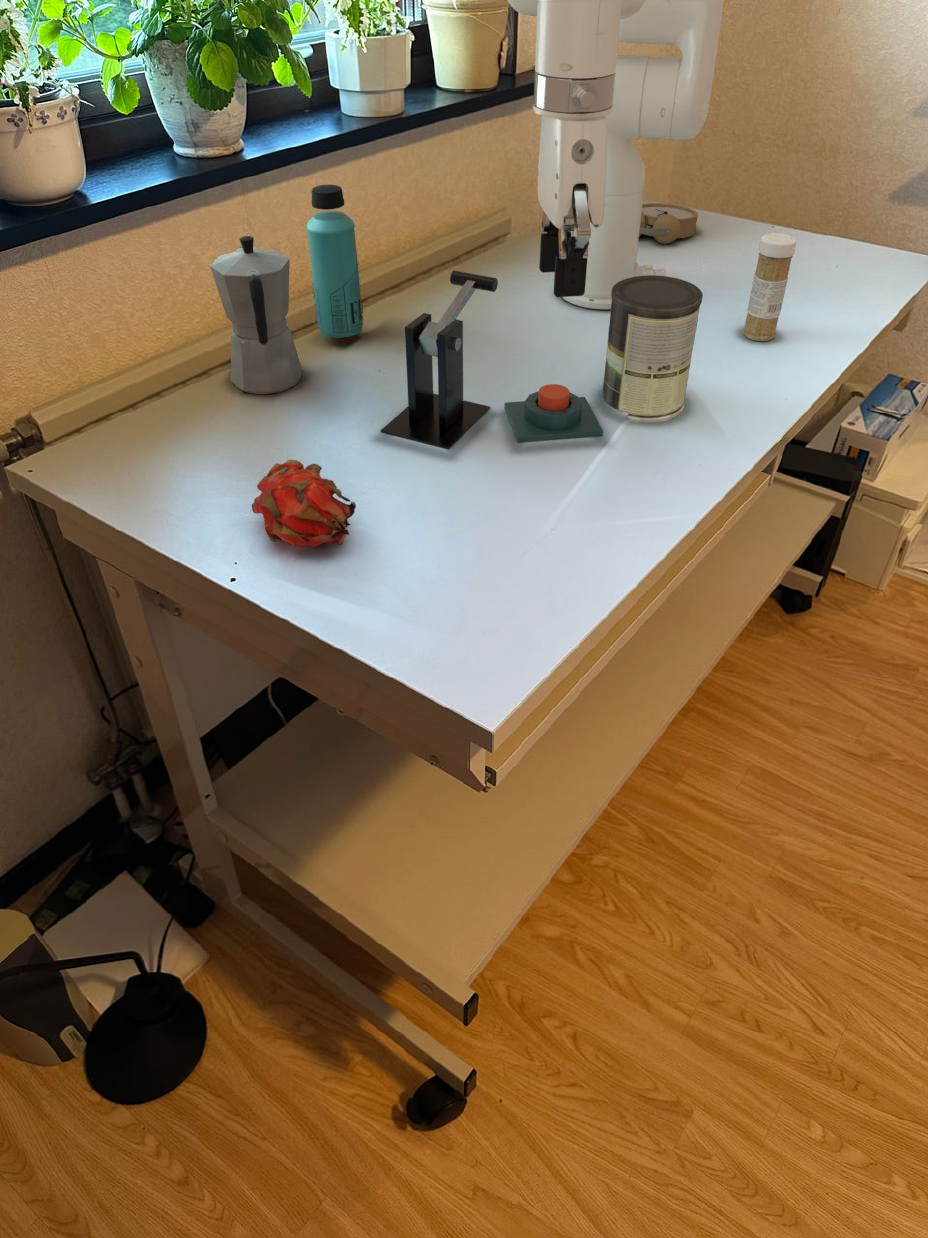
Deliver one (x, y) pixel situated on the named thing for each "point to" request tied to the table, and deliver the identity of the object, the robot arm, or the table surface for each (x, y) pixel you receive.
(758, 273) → the sprinkles bottle
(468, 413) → the bracket
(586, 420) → the button box
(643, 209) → the alarm clock
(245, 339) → the coffeepot
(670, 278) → the coffee can
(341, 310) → the beverage bottle
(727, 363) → the table surface
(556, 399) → the button
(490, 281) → the lever
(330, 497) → the dragon fruit
